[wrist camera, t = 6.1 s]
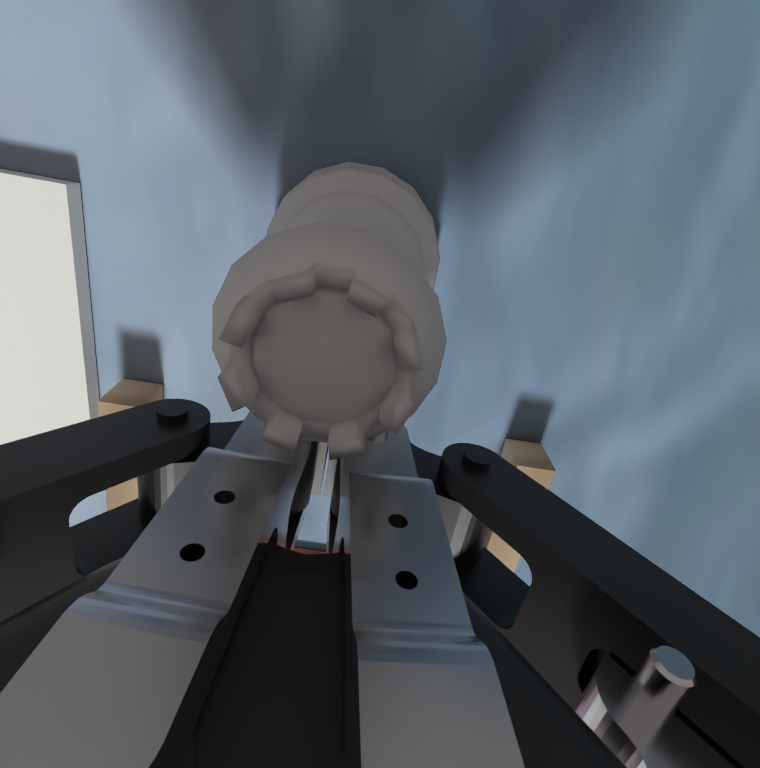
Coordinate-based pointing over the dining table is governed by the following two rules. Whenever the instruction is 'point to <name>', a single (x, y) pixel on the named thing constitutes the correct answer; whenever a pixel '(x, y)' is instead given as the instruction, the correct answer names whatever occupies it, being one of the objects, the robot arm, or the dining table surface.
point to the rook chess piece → (334, 313)
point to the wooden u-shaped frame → (514, 451)
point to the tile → (44, 308)
